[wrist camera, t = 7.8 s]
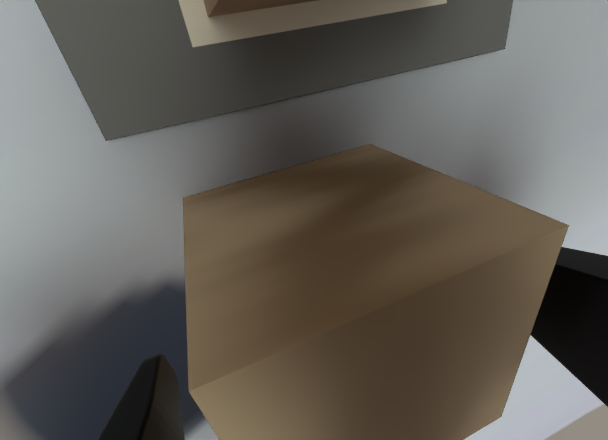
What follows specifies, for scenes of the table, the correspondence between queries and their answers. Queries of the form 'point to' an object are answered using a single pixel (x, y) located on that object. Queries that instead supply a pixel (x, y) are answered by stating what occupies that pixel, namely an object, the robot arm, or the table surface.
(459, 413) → the oak block
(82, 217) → the table surface
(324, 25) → the mat
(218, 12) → the walnut block
